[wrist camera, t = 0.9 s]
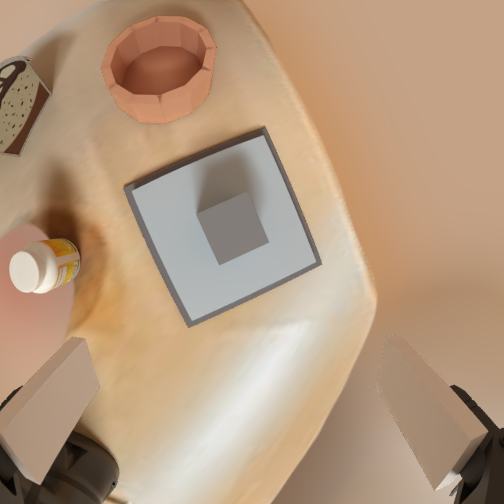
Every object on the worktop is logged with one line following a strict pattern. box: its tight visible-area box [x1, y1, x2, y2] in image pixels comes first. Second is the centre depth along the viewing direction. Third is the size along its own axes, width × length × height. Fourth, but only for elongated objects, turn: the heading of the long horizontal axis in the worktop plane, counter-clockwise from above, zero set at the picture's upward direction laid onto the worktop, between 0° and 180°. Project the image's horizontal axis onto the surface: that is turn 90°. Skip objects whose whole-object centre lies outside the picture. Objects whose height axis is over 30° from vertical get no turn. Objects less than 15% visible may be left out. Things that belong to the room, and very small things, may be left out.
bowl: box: [101, 16, 217, 123], centre depth 27 cm, size 12×12×6 cm
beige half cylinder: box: [0, 56, 52, 157], centre depth 21 cm, size 12×6×10 cm, turn 154°
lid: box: [132, 135, 316, 321], centre depth 29 cm, size 16×16×7 cm
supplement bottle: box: [9, 238, 80, 293], centre depth 25 cm, size 5×5×10 cm
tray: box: [123, 128, 322, 328], centre depth 33 cm, size 18×18×1 cm
